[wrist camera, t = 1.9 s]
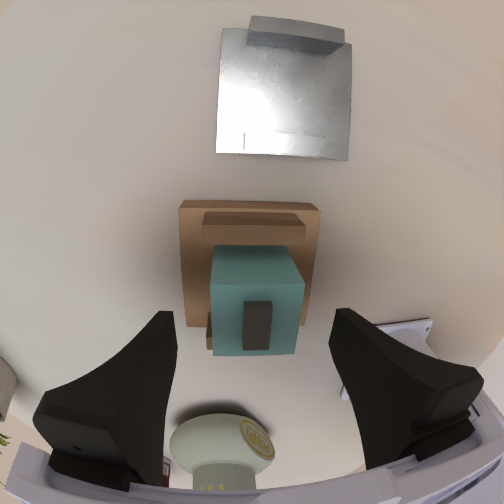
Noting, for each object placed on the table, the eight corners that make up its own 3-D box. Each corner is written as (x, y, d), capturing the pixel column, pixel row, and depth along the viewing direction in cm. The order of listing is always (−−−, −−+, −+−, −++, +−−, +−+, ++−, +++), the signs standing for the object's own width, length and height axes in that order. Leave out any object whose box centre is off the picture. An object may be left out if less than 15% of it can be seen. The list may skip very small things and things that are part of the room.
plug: (278, 301, 18) (296, 360, 13) (215, 302, 18) (212, 362, 13) (283, 243, 17) (307, 289, 12) (214, 242, 16) (209, 290, 11)
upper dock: (298, 309, 21) (313, 348, 17) (189, 310, 20) (182, 351, 16) (310, 203, 18) (335, 223, 14) (184, 200, 17) (170, 220, 13)
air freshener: (278, 435, 28) (291, 508, 19) (219, 453, 29) (221, 520, 20) (226, 390, 24) (230, 486, 15) (160, 413, 25) (149, 495, 16)
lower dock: (343, 160, 17) (365, 165, 14) (216, 152, 16) (214, 154, 13) (348, 46, 14) (368, 33, 11) (222, 31, 13) (222, 11, 10)
